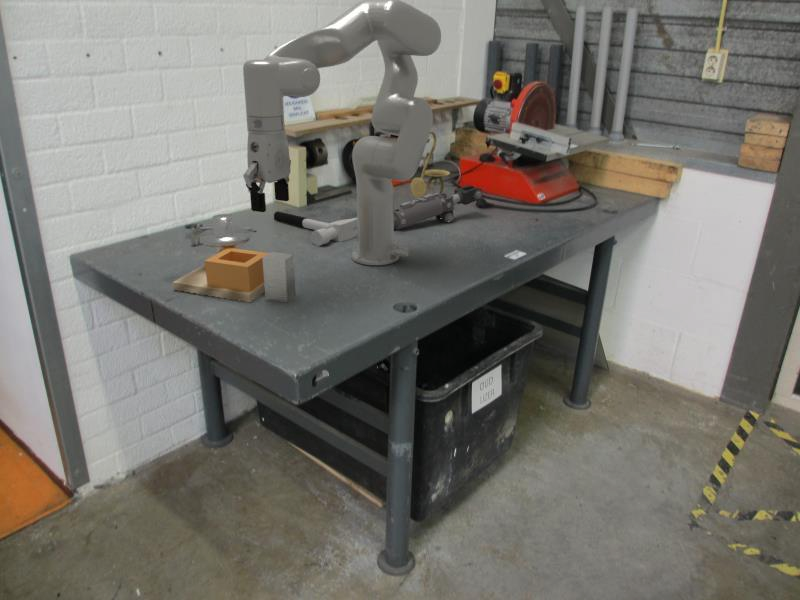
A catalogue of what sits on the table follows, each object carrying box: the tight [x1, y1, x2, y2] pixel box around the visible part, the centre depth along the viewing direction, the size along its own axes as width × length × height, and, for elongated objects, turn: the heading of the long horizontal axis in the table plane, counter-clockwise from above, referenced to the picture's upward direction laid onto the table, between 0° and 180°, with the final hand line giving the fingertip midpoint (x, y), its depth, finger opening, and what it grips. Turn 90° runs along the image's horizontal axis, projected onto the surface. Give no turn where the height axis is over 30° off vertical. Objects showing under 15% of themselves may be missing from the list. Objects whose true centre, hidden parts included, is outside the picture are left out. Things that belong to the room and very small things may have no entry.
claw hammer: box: [273, 211, 357, 247], centre depth 190 cm, size 5×22×30 cm
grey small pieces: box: [190, 223, 257, 247], centre depth 180 cm, size 20×1×6 cm, turn 135°
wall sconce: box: [410, 130, 451, 199], centre depth 213 cm, size 14×10×25 cm
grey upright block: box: [262, 251, 297, 304], centre depth 141 cm, size 6×4×10 cm
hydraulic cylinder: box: [394, 184, 484, 231], centre depth 196 cm, size 7×37×10 cm, turn 123°
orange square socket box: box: [172, 213, 270, 303], centre depth 150 cm, size 21×21×14 cm
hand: (270, 205), depth 136 cm, fingers open, 9 cm apart
